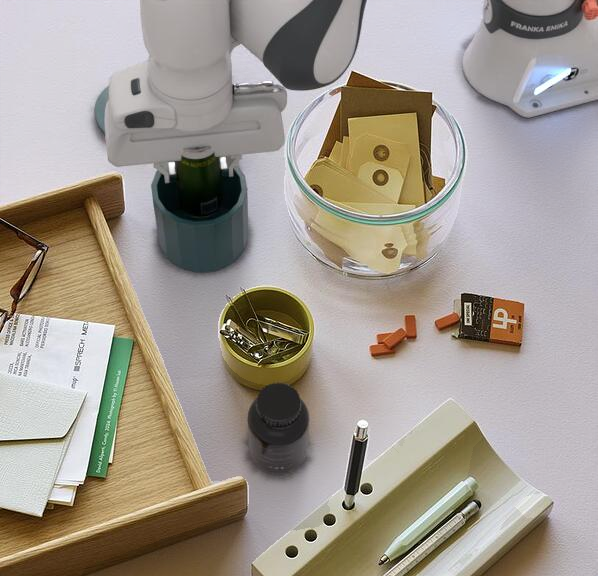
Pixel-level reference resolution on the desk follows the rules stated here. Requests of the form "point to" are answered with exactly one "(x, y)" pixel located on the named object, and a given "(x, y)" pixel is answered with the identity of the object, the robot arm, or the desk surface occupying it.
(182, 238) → the tin
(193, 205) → the beer can
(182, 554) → the desk surface
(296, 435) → the supplement bottle
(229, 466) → the desk surface
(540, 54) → the robot arm
